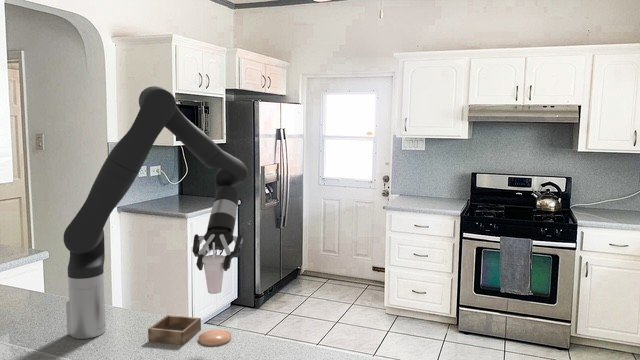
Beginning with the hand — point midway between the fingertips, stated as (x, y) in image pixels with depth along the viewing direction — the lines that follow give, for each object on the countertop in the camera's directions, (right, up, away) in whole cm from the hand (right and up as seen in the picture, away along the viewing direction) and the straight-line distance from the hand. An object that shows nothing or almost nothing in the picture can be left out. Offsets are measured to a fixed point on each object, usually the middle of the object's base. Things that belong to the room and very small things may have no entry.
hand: (212, 269), depth 137 cm
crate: (-12, -20, +6) cm, 24 cm away
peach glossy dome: (0, -20, +3) cm, 20 cm away
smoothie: (0, -7, +2) cm, 7 cm away
